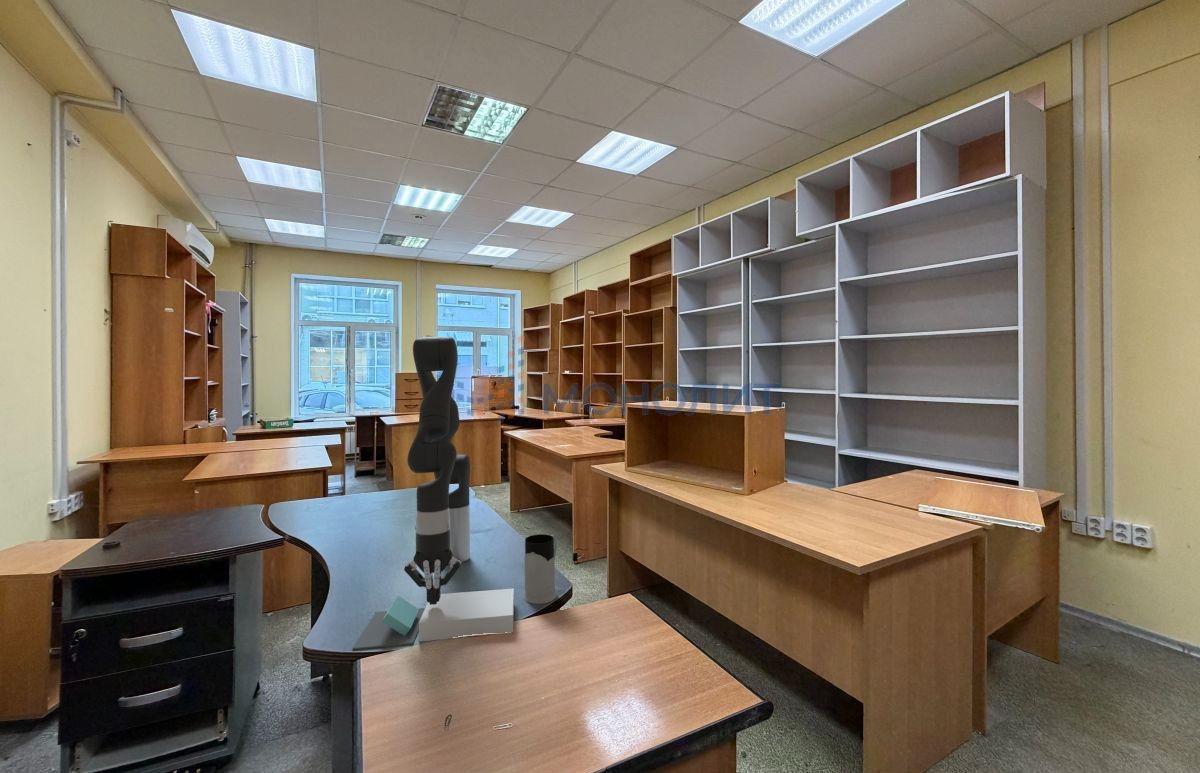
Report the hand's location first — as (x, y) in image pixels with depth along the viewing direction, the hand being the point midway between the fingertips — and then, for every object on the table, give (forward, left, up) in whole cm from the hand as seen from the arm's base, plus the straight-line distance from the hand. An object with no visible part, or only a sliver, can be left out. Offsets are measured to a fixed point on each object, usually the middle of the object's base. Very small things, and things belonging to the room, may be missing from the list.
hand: (433, 603), depth 109 cm
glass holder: (-13, +26, -5) cm, 30 cm away
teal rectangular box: (+1, -6, -1) cm, 7 cm away
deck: (0, +8, -5) cm, 10 cm away
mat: (0, -9, -5) cm, 10 cm away
